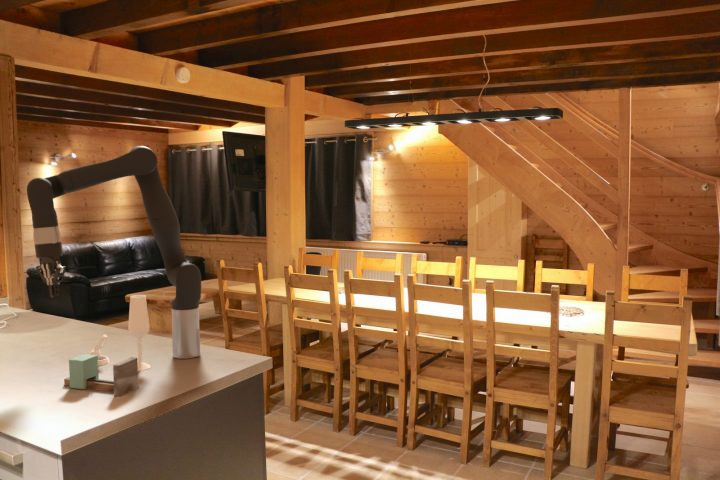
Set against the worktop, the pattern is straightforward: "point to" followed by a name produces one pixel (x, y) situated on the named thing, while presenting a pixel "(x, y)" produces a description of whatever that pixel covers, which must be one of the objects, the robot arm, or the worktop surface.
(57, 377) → the worktop surface
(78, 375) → the block
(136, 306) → the champagne flute
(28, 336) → the worktop surface
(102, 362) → the white vr controller
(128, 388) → the rail
